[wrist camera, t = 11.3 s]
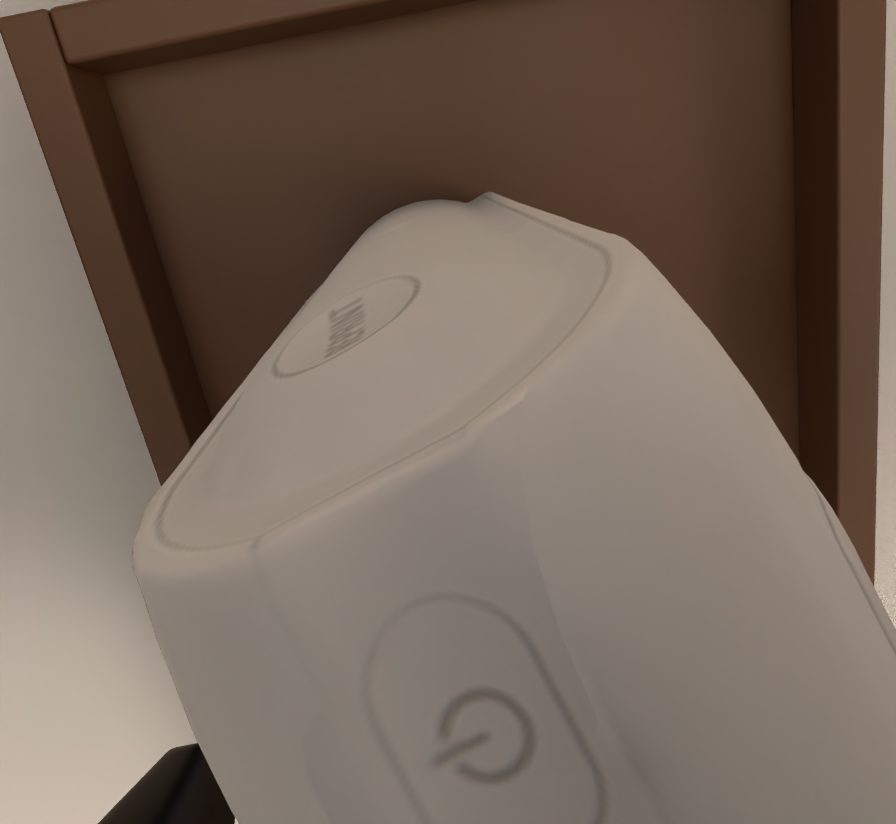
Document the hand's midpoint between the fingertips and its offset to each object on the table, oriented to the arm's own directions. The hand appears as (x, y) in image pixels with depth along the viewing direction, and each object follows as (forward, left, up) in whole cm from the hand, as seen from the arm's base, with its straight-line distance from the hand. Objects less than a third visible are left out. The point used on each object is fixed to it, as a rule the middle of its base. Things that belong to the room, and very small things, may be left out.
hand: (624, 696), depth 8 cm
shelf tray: (0, 0, -9) cm, 9 cm away
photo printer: (0, 0, -8) cm, 8 cm away
